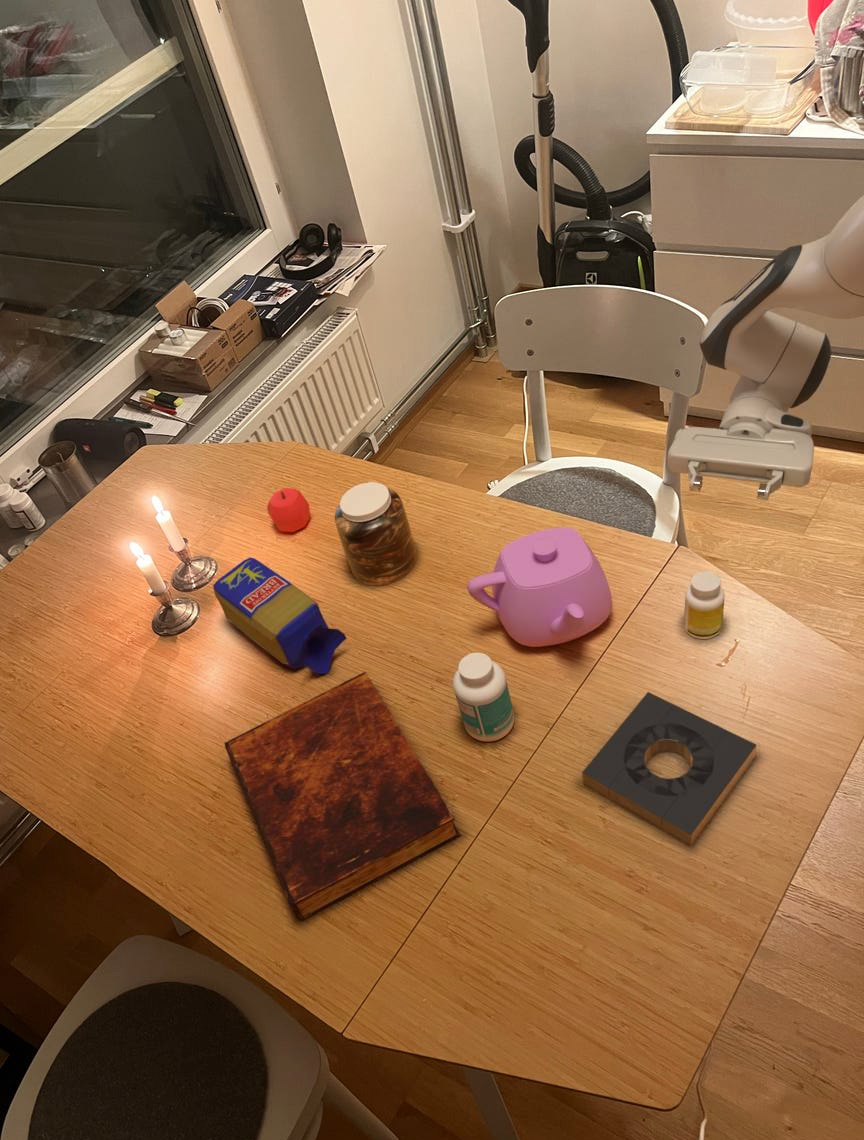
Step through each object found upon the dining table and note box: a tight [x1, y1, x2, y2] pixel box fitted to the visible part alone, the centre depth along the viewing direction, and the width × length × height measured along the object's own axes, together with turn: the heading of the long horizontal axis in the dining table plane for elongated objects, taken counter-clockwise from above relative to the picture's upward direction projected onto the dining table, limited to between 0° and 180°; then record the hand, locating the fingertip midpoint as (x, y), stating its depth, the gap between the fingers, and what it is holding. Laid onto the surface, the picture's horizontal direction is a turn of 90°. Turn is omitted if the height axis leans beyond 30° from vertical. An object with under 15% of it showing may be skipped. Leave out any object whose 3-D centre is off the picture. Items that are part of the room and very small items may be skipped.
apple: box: [266, 487, 311, 533], centre depth 171 cm, size 8×8×8 cm
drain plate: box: [581, 691, 758, 847], centre depth 121 cm, size 16×16×3 cm
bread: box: [212, 557, 347, 675], centre depth 151 cm, size 10×25×10 cm, turn 42°
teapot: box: [466, 526, 613, 648], centre depth 137 cm, size 23×21×15 cm
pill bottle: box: [452, 652, 515, 743], centre depth 129 cm, size 8×7×14 cm
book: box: [224, 671, 462, 922], centre depth 129 cm, size 30×24×5 cm
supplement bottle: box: [683, 570, 725, 640], centre depth 133 cm, size 5×5×10 cm
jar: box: [334, 481, 418, 587], centre depth 156 cm, size 12×12×15 cm
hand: (727, 492), depth 132 cm, fingers open, 8 cm apart
